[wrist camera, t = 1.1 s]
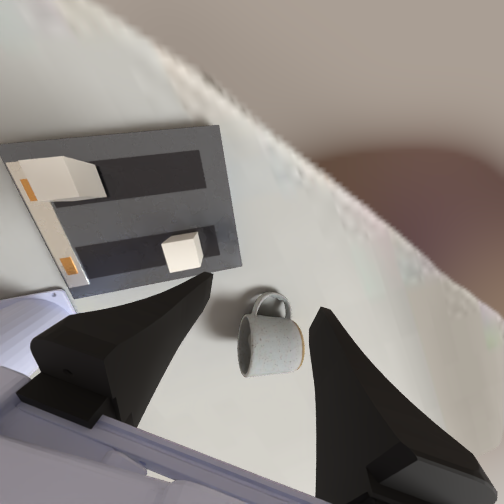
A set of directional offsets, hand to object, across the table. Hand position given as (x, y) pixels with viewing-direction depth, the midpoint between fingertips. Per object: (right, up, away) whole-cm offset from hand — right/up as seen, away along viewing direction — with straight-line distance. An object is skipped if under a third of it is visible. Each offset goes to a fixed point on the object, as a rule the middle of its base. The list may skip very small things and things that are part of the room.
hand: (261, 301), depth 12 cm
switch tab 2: (-8, +4, +10) cm, 13 cm away
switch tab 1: (-17, +10, +6) cm, 21 cm away
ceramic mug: (+1, -8, +18) cm, 19 cm away
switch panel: (-13, +8, +10) cm, 18 cm away
